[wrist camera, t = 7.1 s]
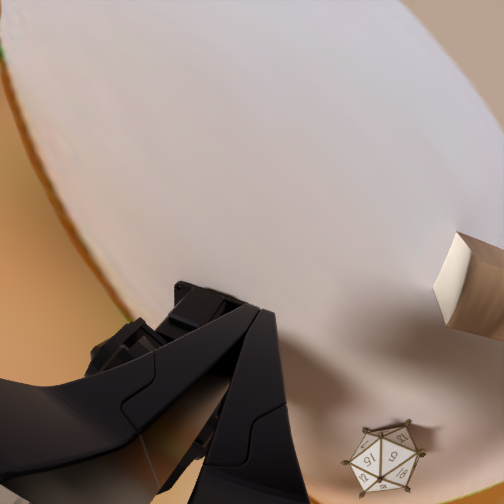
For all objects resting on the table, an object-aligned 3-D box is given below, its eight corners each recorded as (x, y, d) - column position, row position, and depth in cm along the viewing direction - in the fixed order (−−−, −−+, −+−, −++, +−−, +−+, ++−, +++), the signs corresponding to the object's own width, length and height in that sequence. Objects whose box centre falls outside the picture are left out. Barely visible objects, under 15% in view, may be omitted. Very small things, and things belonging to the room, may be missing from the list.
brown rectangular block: (432, 287, 18) (514, 313, 16) (445, 326, 14) (533, 348, 12) (456, 231, 16) (538, 265, 14) (479, 260, 12) (564, 295, 10)
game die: (404, 402, 28) (452, 459, 19) (354, 447, 29) (393, 503, 21) (372, 399, 23) (432, 475, 15) (311, 451, 25) (356, 525, 16)
